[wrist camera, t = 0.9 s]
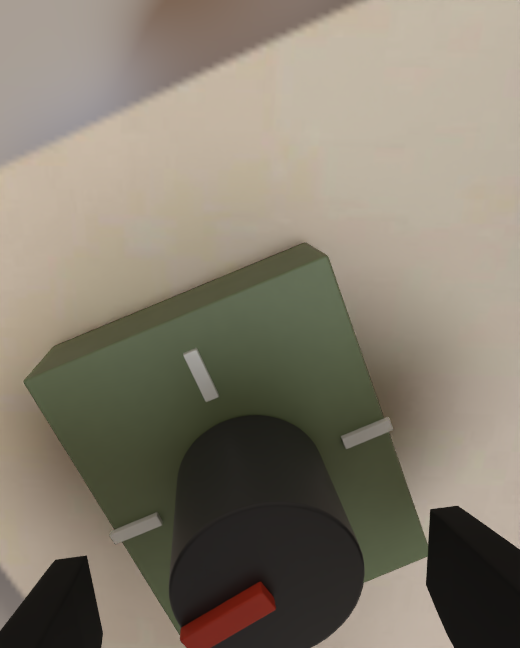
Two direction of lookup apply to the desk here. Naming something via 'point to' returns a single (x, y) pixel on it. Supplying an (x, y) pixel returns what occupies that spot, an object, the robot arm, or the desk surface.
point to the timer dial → (260, 540)
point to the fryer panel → (227, 404)
